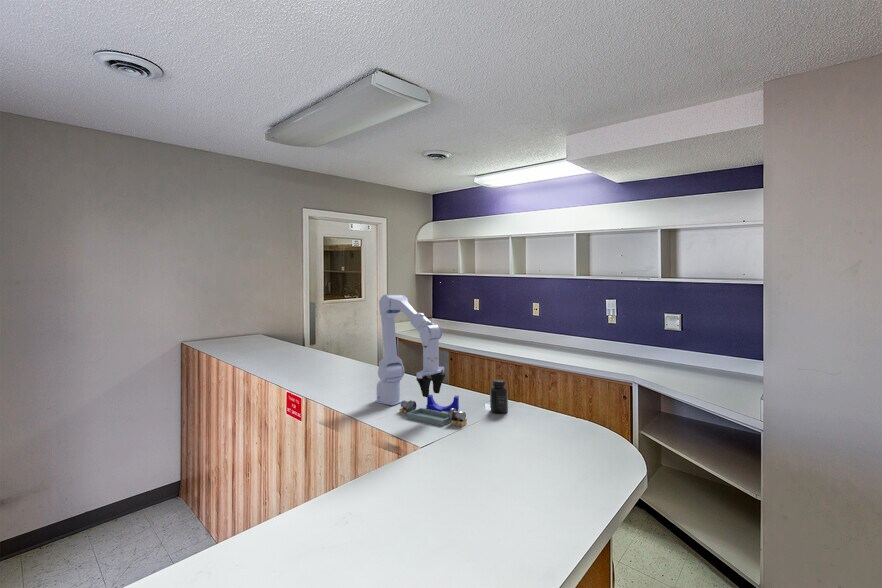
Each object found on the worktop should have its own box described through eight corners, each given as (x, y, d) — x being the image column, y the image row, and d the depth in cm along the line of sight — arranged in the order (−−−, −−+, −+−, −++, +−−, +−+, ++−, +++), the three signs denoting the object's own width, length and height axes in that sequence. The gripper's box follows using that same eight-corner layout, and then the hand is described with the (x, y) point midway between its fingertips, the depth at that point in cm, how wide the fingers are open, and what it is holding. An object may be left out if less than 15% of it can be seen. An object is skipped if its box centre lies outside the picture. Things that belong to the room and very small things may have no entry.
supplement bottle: (509, 409, 163) (509, 379, 162) (506, 414, 156) (506, 383, 156) (492, 408, 165) (492, 378, 165) (488, 413, 158) (488, 381, 158)
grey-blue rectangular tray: (406, 418, 152) (406, 412, 152) (420, 412, 159) (420, 407, 159) (442, 426, 143) (442, 420, 143) (455, 420, 150) (455, 414, 150)
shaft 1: (416, 413, 158) (416, 399, 158) (407, 416, 155) (407, 401, 155) (407, 411, 161) (407, 397, 161) (399, 413, 158) (399, 399, 158)
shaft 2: (448, 425, 144) (448, 409, 144) (454, 421, 148) (453, 406, 148) (461, 427, 142) (461, 411, 142) (466, 423, 146) (466, 408, 146)
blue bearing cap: (426, 412, 160) (426, 397, 160) (428, 409, 164) (428, 394, 164) (457, 414, 158) (457, 398, 158) (458, 411, 162) (458, 395, 162)
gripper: (427, 361, 143) (427, 400, 143) (451, 356, 155) (451, 392, 155) (411, 359, 147) (412, 397, 147) (435, 354, 159) (435, 389, 159)
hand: (431, 394), depth 151 cm, fingers open, 6 cm apart
